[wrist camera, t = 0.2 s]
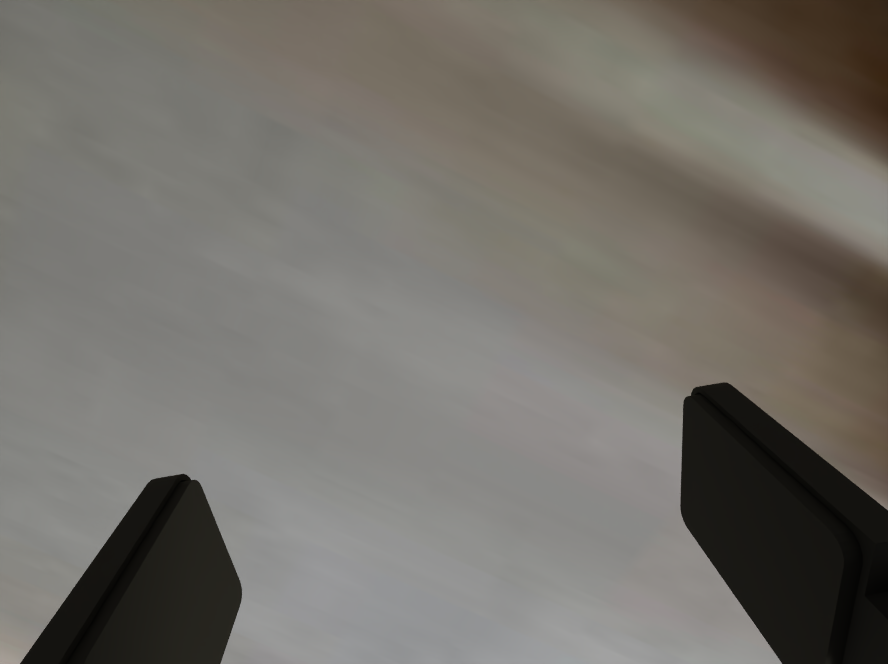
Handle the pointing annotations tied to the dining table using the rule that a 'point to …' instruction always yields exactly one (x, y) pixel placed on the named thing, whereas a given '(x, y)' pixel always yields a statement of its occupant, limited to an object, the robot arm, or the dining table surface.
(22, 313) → the dining table surface
